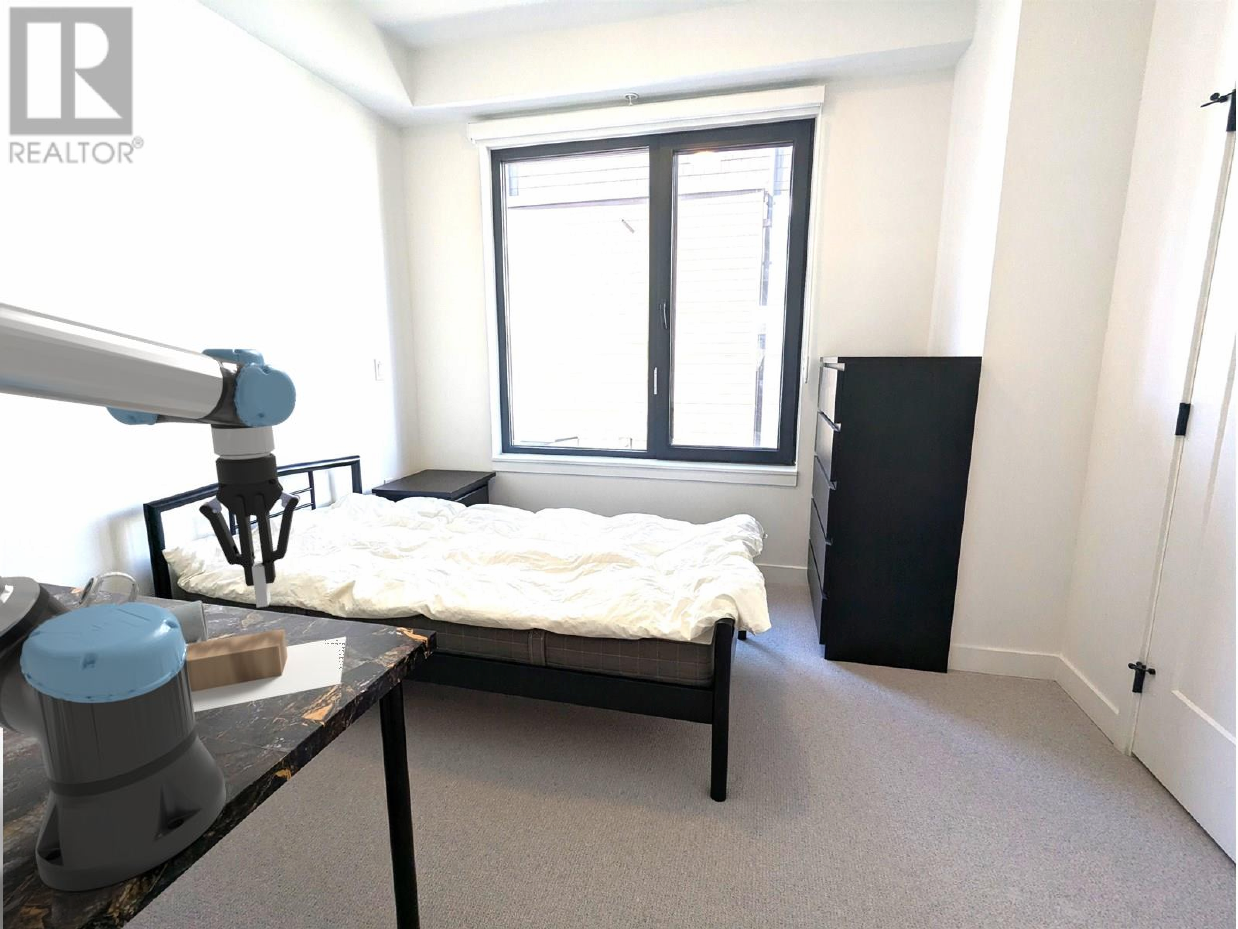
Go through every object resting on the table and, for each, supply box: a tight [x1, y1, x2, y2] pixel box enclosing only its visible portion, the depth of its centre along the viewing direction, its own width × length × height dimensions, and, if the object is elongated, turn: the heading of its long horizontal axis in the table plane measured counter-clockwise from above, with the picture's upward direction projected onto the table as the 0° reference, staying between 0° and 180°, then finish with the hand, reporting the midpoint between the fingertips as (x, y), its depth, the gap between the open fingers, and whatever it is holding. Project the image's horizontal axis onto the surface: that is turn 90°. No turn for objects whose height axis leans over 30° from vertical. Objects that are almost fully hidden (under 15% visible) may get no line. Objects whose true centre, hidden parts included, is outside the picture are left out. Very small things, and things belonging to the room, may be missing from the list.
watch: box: [78, 571, 140, 608], centre depth 102 cm, size 6×8×11 cm
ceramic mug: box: [165, 600, 209, 644], centre depth 95 cm, size 11×8×8 cm
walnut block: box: [186, 628, 287, 692], centre depth 87 cm, size 6×5×14 cm
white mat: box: [191, 636, 347, 713], centre depth 89 cm, size 16×22×1 cm
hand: (263, 603), depth 88 cm, fingers closed
